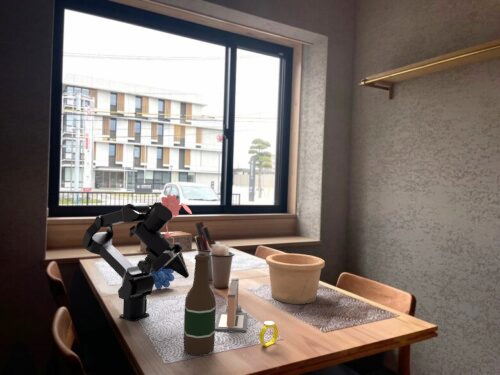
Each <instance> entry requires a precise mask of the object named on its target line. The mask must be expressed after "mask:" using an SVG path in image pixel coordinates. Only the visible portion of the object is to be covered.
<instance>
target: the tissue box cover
mask: <svg viewBox="0 0 500 375" xmlns="http://www.w3.org/2000/svg"><path fill="white" fill-rule="evenodd" d="M166 232H167V231H164V232H160V233H161V234H163V233H164V234H165V233H166ZM168 233H170V236H171V237H172V238H173V239H174V244H175V243H176V242H178V243H181V244H182V245H183V246H184V248H182V249H181V250H180V251H179V252H178V253H180V252H181V251H182V253H183V252H191V251H193V250H192V249H193V233H189V232H184V231H181V230H179V231H178V230H177V231H168ZM170 236H169V237H168V238H166V237H165V238H166V239H167V240H168V242H169V243H170V244H172V243H173V239H172V238H171V237H170ZM146 248H147V247H146V246H145V245H144V244H143V243H142V242H141V241H140V249H139V250H140V252H143V253H146V254H148V253H147V252H146Z"/></svg>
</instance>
